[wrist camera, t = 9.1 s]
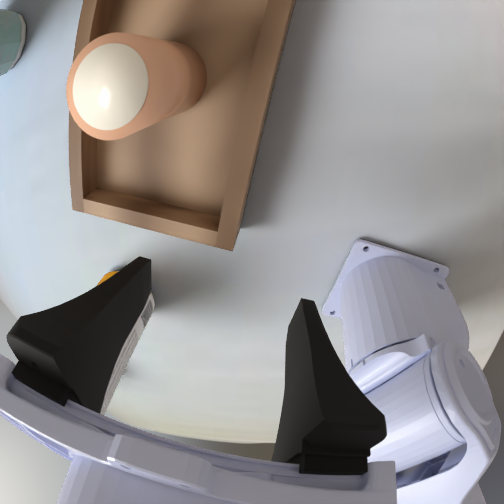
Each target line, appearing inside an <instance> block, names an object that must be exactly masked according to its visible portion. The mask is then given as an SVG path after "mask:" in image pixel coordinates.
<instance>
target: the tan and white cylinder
mask: <svg viewBox="0 0 504 504" xmlns="http://www.w3.org/2000/svg"><path fill="white" fill-rule="evenodd" d="M206 81H207V71H206V66H205V63H204V61H203V59H202V57H201V56H200V55H199V54H198V52H197V51H195V50H194V49H193V48H191V47H190V46H188V45H185V44H182V43H178V42H173V41H169V40H164V39H159V38H154V37H148V36H142V35H136V34H129V33H120V32H116V33H109V34H105V35H102V36H100V37H98V38H96V39H94V40H93V41H91V42H90V43H89V44H87V45H86V46H85V47H84V48H83V49H82V51H81V52H80V53H79V54H78V56H77V57H76V59H75V60H74V62H73V64H72V66H71V69H70V72H69V75H68V80H67V88H66V94H67V103H68V107H69V110H70V113H71V115H72V117H73V119H74V120H75V122H76V123H77V125H78V126H79V127H80V128H81V129H82V130H83V131H84V132H86V133H87V134H88V135H90V136H92V137H94V138H97V139H101V140H117V139H121V138H124V137H127V136H129V135H131V134H133V133H135V132H137V131H140V130H142V129H144V128H146V127H149V126H151V125H153V124H156V123H158V122H160V121H163V120H165V119H168V118H170V117H173V116H175V115H178V114H180V113H182V112H185V111H187V110H188V109H190V108H191V107H192V106H194V105H195V104H196V103H197V101H198V100H199V99H200V97H201V96H202V94H203V92H204V89H205V86H206Z"/></svg>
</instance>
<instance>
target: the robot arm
mask: <svg viewBox="0 0 504 504" xmlns="http://www.w3.org/2000/svg"><path fill="white" fill-rule="evenodd" d="M365 246H368V248H367V249H363V248H364V247H365ZM435 268H437V269H436V270H434V269H435ZM449 272H450V270H449V268H448V267H447V266H445V265H442V264H439V263H436V262H433V261H430V260H427V259H424V258H420V257H417V256H414V255H411V254H408V253H405V252H402V251H398V250H395V249H392V248H389V247H385V246H382V245H379V244H375V243H372V242H369V241H365V240H362V239H359V240H356V241H355V242H354V244H353V246H352V248H351V250H350V253H349V255H348V257H347V259H346V261H345V263H344V265H343V267H342V269H341V271H340V273H339V276H338V278H337V280H336V282H335V284H334V286H333V288H332V290H331V292H330V294H329V296H328V298H327V299H326V301H325V303H324V305H323V307H322V313H323V314H324V315H327V316H332V317H336V318H341V320H342V329H343V340H344V351H345V364H346V369H345V368H344V366H343V364H342V363H341V361H340V359H339V357H338V356H337V354H336V352H335V350H334V348H333V346H332V344H331V342H330V339H329V337H328V335H327V333H326V330H325V328H324V326H323V323H322V321H321V318H320V315H319V313H318V310H317V307H316V304H315V302H314V301H311V300H307V299H303V298H301V300H300V302H299V305H298V307H297V309H296V311H295V313H294V316H293V318H292V320H291V322H290V324H289V326H288V333H287V340H286V359H285V391H284V399H283V406H282V412H281V418H280V424H279V429H278V434H277V439H276V444H275V448H274V453H273V457H272V461H266V460H259V459H253V458H246V457H241V456H236V455H230V454H225V453H221V452H216V451H212V450H207V449H203V448H199V447H195V446H191V445H187V444H184V443H180V442H177V441H173V440H170V439H167V438H164V437H160V436H157V435H154V434H151V433H148V432H145V431H142V430H139V429H137V428H134V427H131V426H129V425H126V424H123V423H121V422H118V421H116V420H113V419H111V418H108V417H106V416H104V415H101V414H100V412H101V408H102V405H103V401H104V397H105V394H106V391H107V387H108V384H109V381H110V378H111V375H112V372H113V370H114V367H115V364H116V362H117V359H118V357H119V354H120V352H121V349H122V347H123V345H124V343H125V341H126V339H127V338H128V336H129V334H130V332H131V331H132V329H133V327H134V325H135V323H136V322H137V320H138V318H139V316H140V315H141V313H142V311H143V309H144V307H145V305H146V303H147V300H148V298H149V295H150V293H151V259H147V258H144V257H140V256H139V257H138V258H136V259H135V260H134V261H132V262H131V263H129V264H128V265H127V266H125V267H124V268H122V269H121V270H120V271H118V272H117V273H115V274H114V275H113V276H111V277H110V278H108V279H107V280H105V281H104V282H102V283H101V284H99V285H98V286H96V287H94V288H93V289H91V290H89V291H88V292H86V293H84V294H82V295H80V296H78V297H76V298H74V299H72V300H70V301H67V302H65V303H63V304H61V305H58V306H56V307H53V308H50V309H47V310H44V311H41V312H37V313H33V314H29V315H25V316H21V317H20V318H19V319H18V321H17V322H16V323H15V325H14V326H13V327H12V329H11V330H10V332H9V333H8V335H7V342H8V344H9V346H10V347H11V349H12V351H13V352H14V354H15V356H16V357H17V359H18V360H19V361H18V363H17V365H15V364H14V363H13V362H12V361H11V360H9V359H8V358H6V357H5V356H3V355H1V354H0V415H1V416H2V417H3V418H5V419H6V420H7V421H9V422H10V423H12V424H13V425H14V426H16V427H17V428H19V429H20V430H21V431H23V432H25V433H26V434H27V435H29V436H30V437H32V438H33V439H35V440H36V441H38V442H40V443H41V444H43V445H44V446H46V447H48V448H49V449H51V450H53V451H54V452H56V453H58V454H59V455H61V456H63V457H65V458H66V459H68V460H70V461H72V462H71V465H70V468H69V470H68V473H67V475H66V478H65V481H64V483H63V486H62V489H61V492H60V495H59V498H58V500H57V504H486V502H485V500H484V497H483V495H482V492H481V490H480V487H479V485H478V481H479V479H480V478H481V476H482V475H483V474H484V472H485V471H486V469H487V468H488V467H489V465H490V464H491V462H492V460H493V459H494V457H495V455H496V452H497V450H498V447H499V441H500V431H501V423H500V419H499V416H498V414H497V411H496V409H495V406H494V404H493V400H492V395H491V392H490V388H489V386H488V383H487V380H486V378H485V376H484V374H483V372H482V370H481V368H480V366H479V364H478V363H477V361H476V360H475V358H474V357H473V355H472V354H471V353H470V352H469V351H468V348H469V331H468V327H467V324H466V321H465V319H464V317H463V315H462V313H461V310H460V308H459V306H458V304H457V302H456V300H455V298H454V296H453V294H452V292H451V290H450V288H449V286H448V284H447V282H446V280H445V279H446V277H447V276H448V274H449ZM331 311H334V312H331Z"/></svg>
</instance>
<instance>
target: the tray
mask: <svg viewBox="0 0 504 504" xmlns="http://www.w3.org/2000/svg"><path fill="white" fill-rule="evenodd" d="M295 1H296V0H83V5H82V9H81V14H80V19H79V25H78V30H77V36H76V43H75V50H74V57H73V62H74V60H75V59H76V57H77V56H78V54H79V53H80V52H81V51H82V49H83V48H84V47H85V46H86V45H87V44H89V43H90V42H91V41H93V40H94V39H96V38H98V37H100V36H102V35H105V34H109V33H116V32H120V33H129V34H136V35H142V36H148V37H154V38H159V39H164V40H169V41H173V42H178V43H182V44H185V45H188V46H190V47H191V48H193V49H194V50H195V51H197V52H198V54H199V55H200V56H201V57H202V59H203V61H204V63H205V66H206V71H207V81H206V86H205V89H204V92H203V94H202V96H201V97H200V99H199V100H198V101H197V103H196V104H195V105H194V106H192V107H191V108H190V109H188V110H187V111H185V112H182V113H180V114H178V115H175V116H173V117H170V118H168V119H165V120H163V121H160V122H158V123H156V124H153V125H151V126H149V127H146V128H144V129H142V130H140V131H137V132H135V133H133V134H131V135H129V136H127V137H124V138H121V139H117V140H101V139H97V138H94V137H92V136H90V135H88V134H87V133H86V132H84V131H83V130H82V129H81V128H80V127H79V126H78V125H77V123H76V122H75V120H74V119H73V117H72V115H71V113H70V110H69V167H70V185H71V197H72V208H73V210H75V211H79V212H83V213H87V214H91V215H94V216H98V217H102V218H106V219H110V220H114V221H117V222H121V223H125V224H129V225H133V226H137V227H140V228H144V229H148V230H152V231H156V232H160V233H163V234H167V235H171V236H175V237H179V238H183V239H187V240H190V241H194V242H198V243H202V244H206V245H210V246H214V247H218V248H221V249H225V250H229V251H233V248H234V245H235V242H236V239H237V236H238V234H239V231H240V227H241V222H242V218H243V214H244V209H245V205H246V200H247V196H248V192H249V187H250V183H251V179H252V175H253V170H254V166H255V162H256V157H257V153H258V149H259V145H260V141H261V136H262V132H263V128H264V124H265V120H266V116H267V111H268V107H269V103H270V99H271V95H272V91H273V87H274V83H275V79H276V75H277V71H278V67H279V63H280V59H281V55H282V51H283V47H284V43H285V39H286V35H287V32H288V28H289V24H290V20H291V16H292V12H293V9H294V5H295Z"/></svg>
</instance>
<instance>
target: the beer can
mask: <svg viewBox="0 0 504 504" xmlns="http://www.w3.org/2000/svg"><path fill="white" fill-rule="evenodd" d="M117 272H118V271H112V272H109V273H107V274H105V275H104V277H103V278H102V279H101V281H100V282H99V283H98V285H99V284H101V283H102V282H104V281H105V280H107V279H108V278H110V277H111V276H113V275H114V274H115V273H117ZM98 285H97V286H98ZM154 308H155V302H154V298H153V295H152V292H151V293H150V295H149V298H148V300H147V303H146V305H145V307H144V309H143V311H142V313H141V315H140V316H139V318H138V320H137V322H136V323H135V325H134V327H133V329H132V331H131V332H130V334H129V336H128V338H127V339H126V341H125V343H124V345H123V347H122V349H121V352H120V354H119V357H118V359H117V362H116V364H115V367H114V370H113V372H112V375H111V378H110V381H109V384H108V387H107V391H106V394H105V397H104V401H103V405H102V408H101V412H100V414H101V415H104V414H105V412H106V410H107V407H108V405H109V403H110V400H111V398H112V396H113V394H114V392H115V389H116V387H117V385H118V383H119V381H120V378H121V376H122V374H123V372H124V370H125V368H126V366H127V363H128V361H129V359H130V357H131V355H132V353H133V351H134V349H135V347H136V345H137V343H138V341H139V339H140V337H141V335H142V333H143V331H144V329H145V327H146V325H147V323H148V321H149V319H150V317H151V315H152V313H153V311H154Z"/></svg>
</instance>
